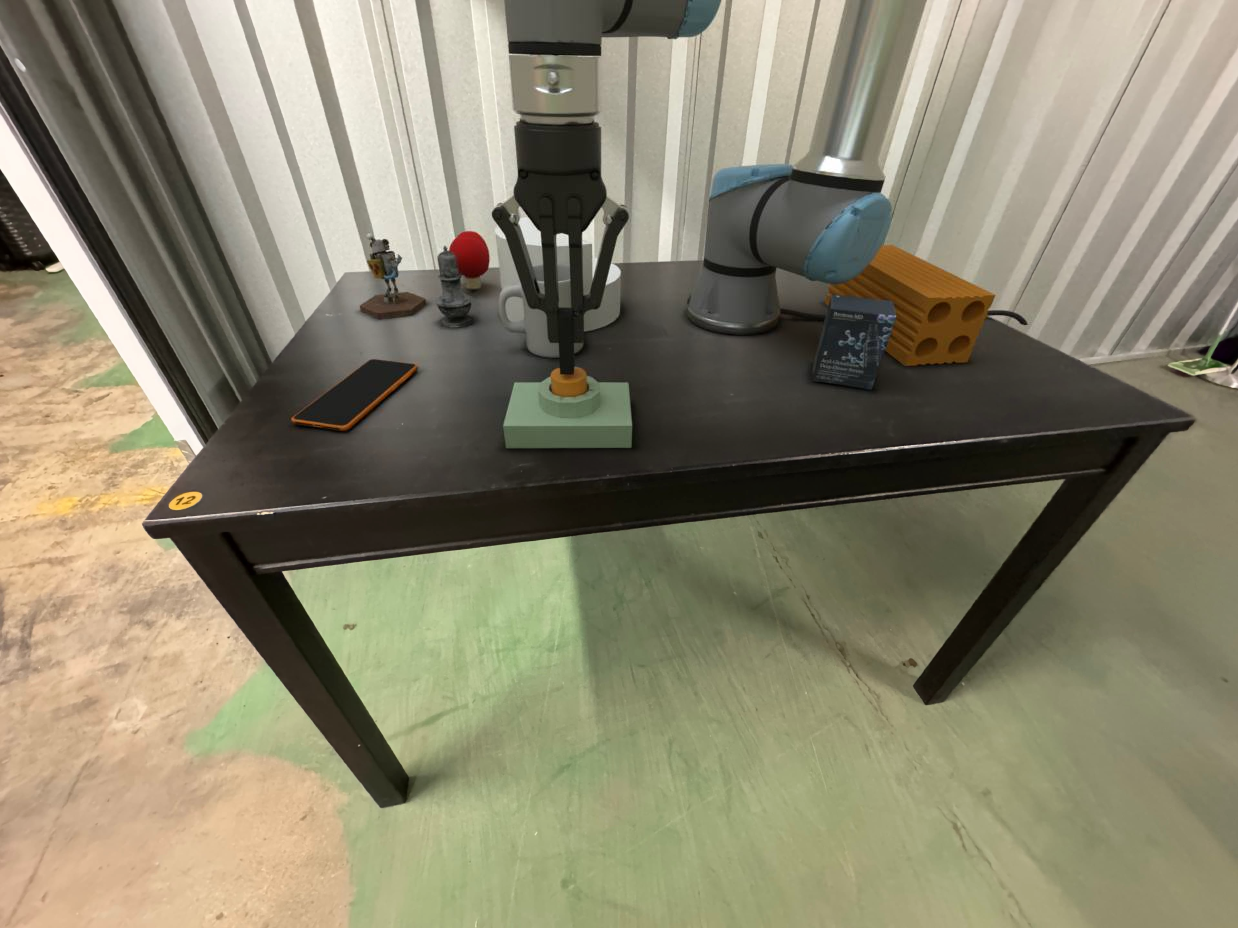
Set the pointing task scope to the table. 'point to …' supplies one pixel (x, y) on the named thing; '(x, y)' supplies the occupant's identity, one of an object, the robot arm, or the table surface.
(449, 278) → the salt shaker
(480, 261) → the red mushroom
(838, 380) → the box
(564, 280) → the mug
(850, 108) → the robot arm
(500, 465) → the table surface
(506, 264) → the container
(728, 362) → the table surface
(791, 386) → the table surface
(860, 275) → the brick
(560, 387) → the orange push button
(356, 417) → the smartphone
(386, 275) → the robot figurine
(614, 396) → the green button housing
